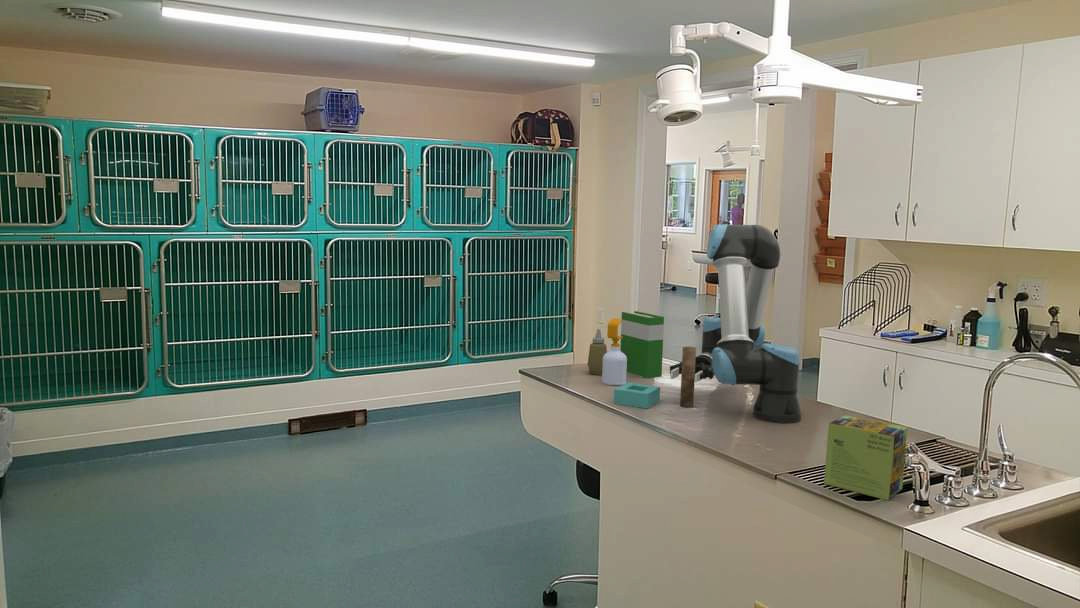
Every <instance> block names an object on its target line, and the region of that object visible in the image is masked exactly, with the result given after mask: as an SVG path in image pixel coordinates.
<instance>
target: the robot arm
mask: <svg viewBox="0 0 1080 608" xmlns="http://www.w3.org/2000/svg"><path fill="white" fill-rule="evenodd" d="M706 256H707V258H708V259H709V260H712V265H713V267H715V268H716V269H717V275H718V278H717V279H718V293H719V296H718V297H719V314H720V315H719V316H720V317H713V316H712V317H705V318H704V320H703V324H702V339H701V340H702V342H701V344H702V345H701V354H699V355H696V361H695V382H694V383H698V382H700V381H701V380H706V379H709V380H712V379H714V377H715V378H716V380H717V381H718V383H721V384H725V385H731V386H735V385H747V386H748V385H750V386H751V385H752V386H753V385H754V386H759V389H758V393H757V397H756V399H755V401H754V404H753V405H752V411H751V413H752V414H751V415H752V416H753V417H754V418H756V419H758V420H761V421H764V422H769V423H770V422H771V423H778V424H779V423H781V424H792V423H798V422H800V421H801V420H802V408H801V405H800V401H799V397H798V385H799V384H798V383H799V373H800V353H799V351H798V350H797V349H795V348H793V347H790V346H785V345H781V344H776V343H764V341H765V340H766V339H765V337H766V329H765V326H764V325H763V324H761V323H762V321H763V320H762V319H763V317H764V311H765V308H766V304H767V300H768V295H769V292H770V289H771V288H770V287H771V284H772V279H773V275H774V271H775V269H777V268H778V267H779V263H780V259H781V249H780V244H779V241H778V239H777V237H776V236H775V234H774V233H773V232H772V231H771V230H770V229H768V227H765V226H764V225H760V224H729V223H725V224H716V225H714V226H713V227H712V228H711V230H710V231H709V236H708V239H707V246H706ZM749 264H751V268H750V271H749V276H748V281H747V286H746V272H745V268H746V267H747V266H748V265H749ZM755 345H761V347H760V348H755ZM669 375H670V380H674V379H675V378H677V377H679V376H680V375H682V361H680V362H679V363H675V364H674V365H670V366H669Z"/></svg>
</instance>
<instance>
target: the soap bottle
mask: <svg viewBox="0 0 1080 608" xmlns="http://www.w3.org/2000/svg"><path fill="white" fill-rule="evenodd" d="M621 322H622V319H621V318H616V317H615V318H612V319H611V320H609V321H608V323H607V338H608V339H611V341H612V343H611V344H610V350H609V351H607V353H606V354H604V356H603V368H602V375H601V376H602V377H601V379H602V380H601V382H602V383H603V384H604V385H608V386H613V385H618V386H622V385H624V384H626V383H627V373H628V372H627V357H626V355H625V354H624V353H622V352H621V351H620V347H621V343H620V344H619V343H618V342H619V341H620V340H621V338H622V337H621V335H620V336H619V335H618V333H619V330H618V329H619V325H620V324H621Z"/></svg>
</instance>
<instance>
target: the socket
mask: <svg viewBox="0 0 1080 608" xmlns="http://www.w3.org/2000/svg"><path fill="white" fill-rule="evenodd" d="M613 395H614V396H613V404H614V403H615V405H619V404H620V405H621V406H626V405H628V406H627V407H632V406H634V407H635V408H639V407H642V408H641V409H645V408H648V409H649V408H651V407H653V406H655V403H656V404H658V403H659V402H660V401H661V397H660V396H661V386H656V385H655V386H654V385H650V384H649V385H648V384H641V383H634V382H626V383H625V384H624V385H619V386H618V387H616V388H614V390H613ZM652 405H653V406H652ZM650 406H651V407H650Z"/></svg>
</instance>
